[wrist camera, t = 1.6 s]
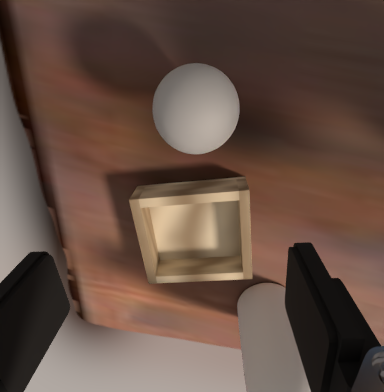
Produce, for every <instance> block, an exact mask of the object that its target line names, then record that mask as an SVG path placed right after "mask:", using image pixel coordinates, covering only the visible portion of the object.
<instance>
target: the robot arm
mask: <svg viewBox="0 0 384 392" xmlns="http://www.w3.org/2000/svg"><path fill="white" fill-rule="evenodd" d="M285 309H286V312H287V316H288V319H289V322H290V325H291V329H292V332H293V335H294V338H295V342H296V345H297V348H298V351H299V355H300V358H301V361H302V364H303V368H304V371H305V374H306V377H307V381H308V384H309V387H310V390H311V392H384V346H381V345H380V343H379V342H378V340H377V338H376V337H375V335H374V333H373V332H372V330H371V328H370V327H369V325H368V323H367V322H366V320H365V319H364V317H363V315H362V314H361V312H360V310H359V309H358V307H357V305H356V304H355V302H354V300H353V299H352V297H351V295H350V294H349V292H348V291H347V289H346V287H345V286H344V284H343V282H342V281H341V280H340V279H338V278H331V277H330V275H329V273H328V271H327V270H326V268H325V266H324V264H323V263H322V261H321V259H320V257H319V255H318V254H317V252H316V250H315V248H314V247H313V245H312V244H311V243H295V244H294V247H289V250H288V263H287V276H286V289H285ZM69 310H70V304H69V301H68V298H67V295H66V292H65V290H64V287H63V284H62V281H61V279H60V276H59V273H58V270H57V268H56V265H55V262H54V259H53V257H52V256H51V255H49V254H48V253H47V252H30V253H29V254H28V255H27V256H26V257H25V258H24V259H23V260H22V261H21V262H20V263H19V264H18V265H17V266H16V267H15V268H14V269H13V270H12V271H11V273H10V274H9V275H8V276H7V277H6V278H5V279H4V280H3V281H2V282H1V283H0V392H24V390H25V388H26V386H27V385H28V383H29V381H30V380H31V378H32V376H33V374H34V373H35V371H36V369H37V367H38V366H39V364H40V362H41V360H42V359H43V357H44V355H45V353H46V351H47V350H48V348H49V346H50V345H51V343H52V341H53V339H54V337H55V336H56V334H57V332H58V330H59V329H60V327H61V325H62V323H63V322H64V320H65V318H66V316H67V315H68V313H69Z"/></svg>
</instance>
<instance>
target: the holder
mask: <svg viewBox="0 0 384 392" xmlns="http://www.w3.org/2000/svg"><path fill="white" fill-rule="evenodd" d="M129 203H130V207H131V211H132V215H133V219H134V224H135V228H136V232H137V236H138V241H139V245H140V249H141V253H142V257H143V262H144V266H145V270H146V274H147V278H148V283H149V284H154V283H176V282H197V281H219V280H240V279H252V252H251V223H250V195H249V187H248V184H247V181H246V177H235V178H223V179H212V180H200V181H188V182H177V183H165V184H153V185H142V186H137V187H136V189H135V191H134V192H133V194H132V196H131V197H130V199H129Z"/></svg>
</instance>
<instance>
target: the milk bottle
mask: <svg viewBox="0 0 384 392" xmlns="http://www.w3.org/2000/svg"><path fill="white" fill-rule="evenodd" d="M285 289H286V288H285V287H283V286H281V285H278V284H274V283H259V284H256V285H253V286H251V287H249V288H248V289H246V290H245V291H244V292H243V293H242V294H241V296H240V298H239V300H238V303H237V311H238V322H239V332H240V341H241V350H242V359H243V368H244V376H245V383H246V390H247V392H311V390H310V387H309V384H308V381H307V377H306V374H305V371H304V368H303V364H302V361H301V358H300V355H299V351H298V348H297V345H296V342H295V338H294V335H293V332H292V329H291V325H290V322H289V319H288V316H287V312H286V309H285Z"/></svg>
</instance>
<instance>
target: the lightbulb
mask: <svg viewBox="0 0 384 392" xmlns="http://www.w3.org/2000/svg"><path fill="white" fill-rule="evenodd" d="M239 113H240V105H239V99H238V94H237V92H236V89H235V87H234V85H233V84H232V82H231V81H230V79H229V78H228V77H227V76H226V75H225V74H224V73H223V72H221V71H220V70H218V69H216V68H215V67H213V66H210V65H207V64H201V63H191V64H185V65H182V66H179V67H177V68H176V69H174V70H172V71H171V72H169V73H168V74H167V75H166V76H165V77H164V78H163V80H162V81H161V82H160V84H159V85H158V88H157V90H156V92H155V95H154V99H153V118H154V122H155V125H156V128H157V130H158V132H159V133H160V135H161V137H162V138H163V139H164V140H165V141H166V142H167V143H168V144H169V145H170V146H172V147H173V148H175V149H177V150H179V151H181V152H184V153H188V154H204V153H207V152H211V151H213V150H215V149H217V148H219V147H220V146H221V145H223V144H224V143H225V142H226V141H227V140H228V139H229V137H230V136H231V135H232V133H233V131H234V130H235V128H236V125H237V122H238V119H239Z"/></svg>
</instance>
